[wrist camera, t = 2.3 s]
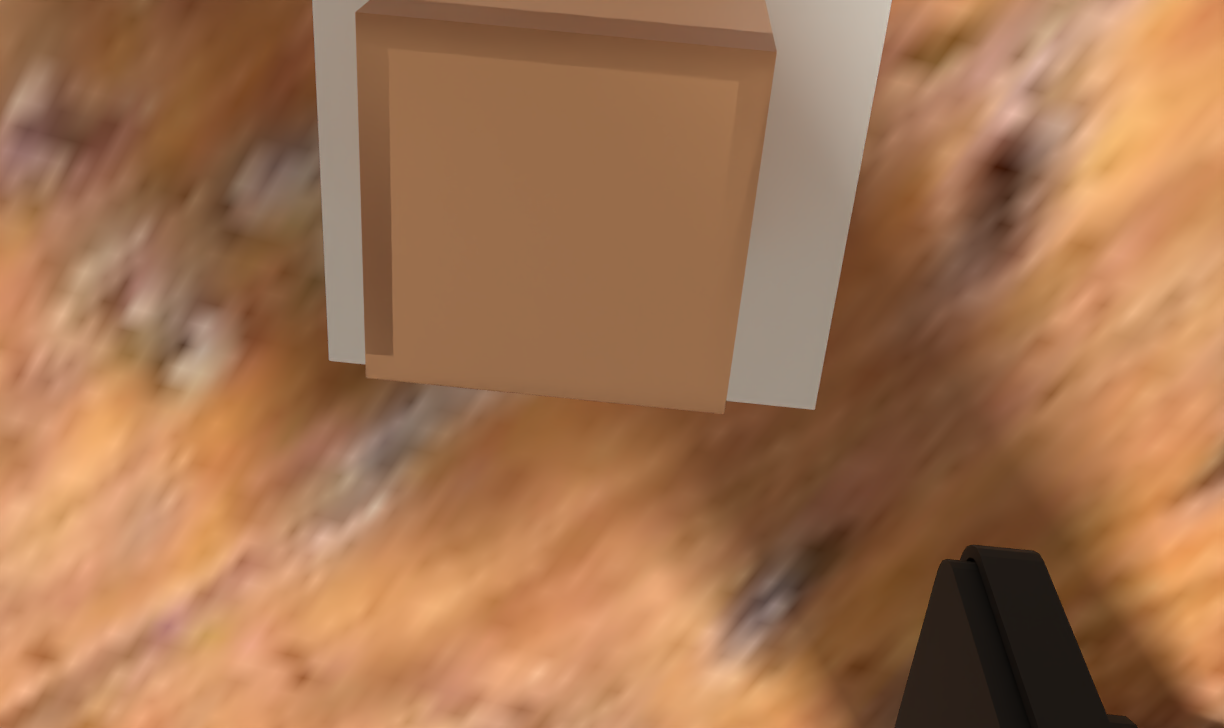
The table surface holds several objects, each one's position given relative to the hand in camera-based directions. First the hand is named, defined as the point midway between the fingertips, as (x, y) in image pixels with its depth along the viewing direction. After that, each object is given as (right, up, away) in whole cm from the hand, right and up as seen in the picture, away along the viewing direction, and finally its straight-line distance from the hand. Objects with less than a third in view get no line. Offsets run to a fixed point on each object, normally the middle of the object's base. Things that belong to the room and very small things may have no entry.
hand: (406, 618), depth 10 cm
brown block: (+1, +8, +15) cm, 17 cm away
